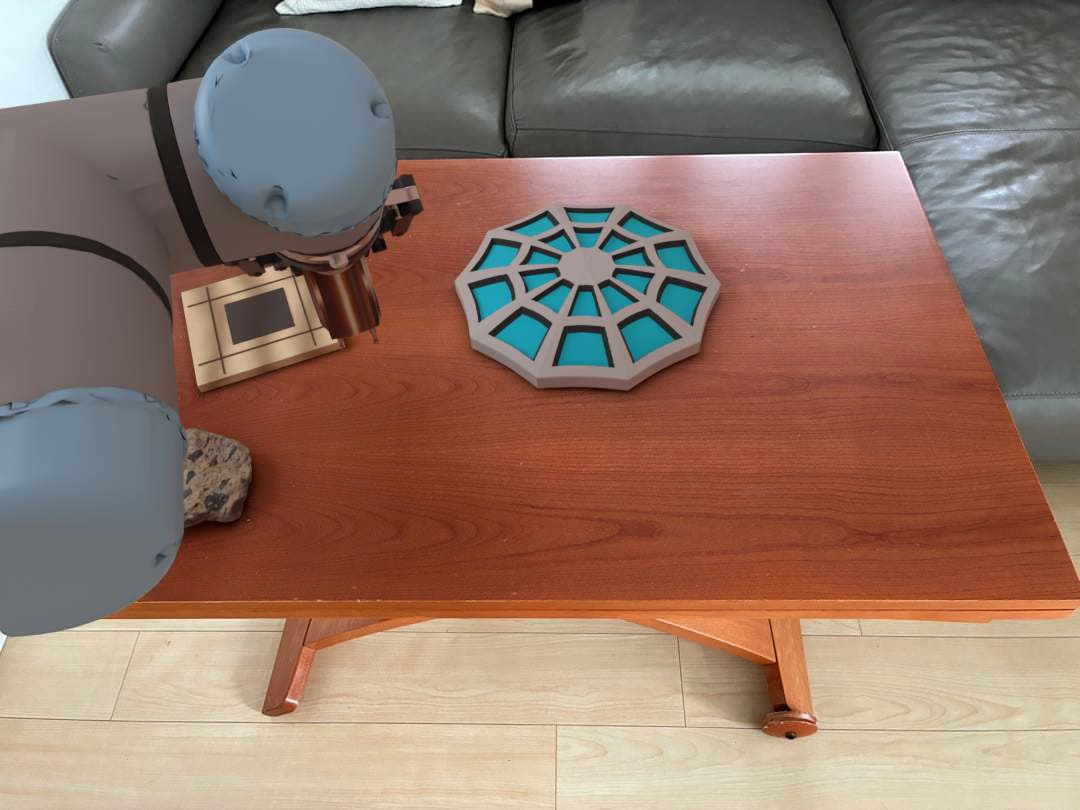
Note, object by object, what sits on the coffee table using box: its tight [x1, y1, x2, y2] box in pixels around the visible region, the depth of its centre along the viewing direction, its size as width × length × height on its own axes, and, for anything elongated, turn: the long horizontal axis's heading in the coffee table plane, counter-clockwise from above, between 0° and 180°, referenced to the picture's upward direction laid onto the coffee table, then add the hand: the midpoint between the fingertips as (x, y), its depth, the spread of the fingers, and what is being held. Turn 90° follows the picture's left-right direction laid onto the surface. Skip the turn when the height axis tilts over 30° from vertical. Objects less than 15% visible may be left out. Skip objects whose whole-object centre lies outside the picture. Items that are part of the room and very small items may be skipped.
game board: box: [180, 266, 346, 394], centre depth 89 cm, size 16×16×1 cm
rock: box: [183, 427, 253, 529], centre depth 73 cm, size 11×11×4 cm
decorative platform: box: [454, 203, 722, 392], centre depth 88 cm, size 31×29×5 cm
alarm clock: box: [302, 256, 383, 351], centre depth 62 cm, size 11×5×15 cm, turn 22°
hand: (327, 251), depth 66 cm, fingers closed on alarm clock, 5 cm apart
